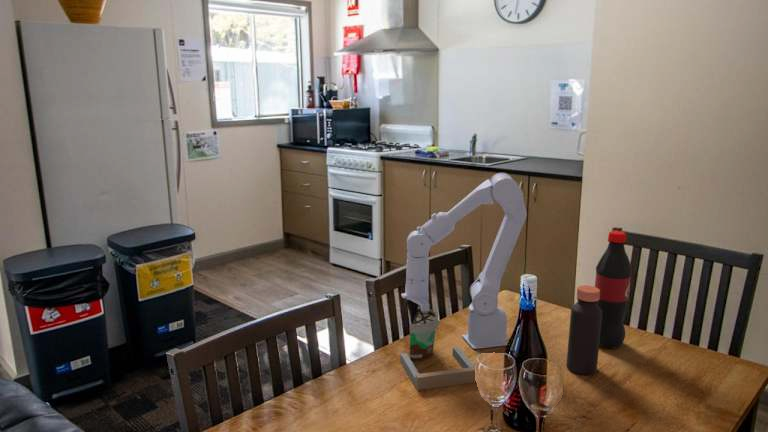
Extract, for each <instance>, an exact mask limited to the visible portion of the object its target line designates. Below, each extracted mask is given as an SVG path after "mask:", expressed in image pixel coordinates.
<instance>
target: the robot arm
mask: <svg viewBox="0 0 768 432" xmlns="http://www.w3.org/2000/svg"><path fill="white" fill-rule="evenodd" d="M494 201H496V203H497V204H499V205H500V206H501V208H502V210H503V212H504V216H503V219H502V222H501V223H500V227H499V229H498V232H497V234H496V236H495V240H494V242H493V244H492V247H491V250H490V252H489V255H488V257H487V259H486V262H485V265H484V267H483V269H482V271H481V272H479V275H478V277H477V279H476V280H475V281H474V282H473V283H471V285H470V288H469V293H470V296H471V300H472V301H471V303H470V304H469V306H468V320H467V321H468V322H467V324H468V325H467V333H465V334H462V335H461V337H462V338H463V340H464V341H466V342H467V344H468V345H469V346H470V347H471V348H472V349H473V350H480V349H487V348H495V347H497V348H498V347H503V346H508V343H507V330H508V329H507V327H508V318H507V314H506V311H505V310H504V308H503V307H501V306H500V307H499V306H498V305H499V299H498V297H499V293H500V290H501V281H502V279H503V275H504V273H505V271H506V268H507V266H508V263H509V261H510V258H511V256H512V254H513V250H514V248H515V246H516V244H517V241H518V238H519V236H520V233H521V232H522V229H523V226H524V224H525V221H526V219H527V217H528V215H527V214H528V213H527V208H526V205H525V200H524V192H523V191H522V189H521V188H520V186H519V184H518V182H516V181H515V180H514V179H513V177H512V176H511V175H510V174H508V173H506V172H498V173H495V174H494V175H492V176H491V177H490V179H489V178H488V179H485V181H483V182H482V183H480V184H479V185H478V186H476V187H475V188H474V189H473V190H472V191H471V192H469V193H468V195H466V196H465V197H464V198H463V199H461V201H459V202H458V203H457V204H456V205H455V206H453V207H452V208H451V209H450V210H448V211H447V212H446V211H445V212H444V211H439V212H438V213H435V212H434V213H432V215H431V218H430V219H429V220H428V221H426V222H425V223H424V224H422V225H421V226H420V225H419V226H417V227H416V230H414V231H411V232H410V233H409V235H408V236H407V239H406V250H407V252H406V258H407V259H406V265H405V266H406V268H405V269H406V270H405V271H406V272H405V273H406V274H405V275H406V276H405V288H404V289H405V290H404V291H405V292H403V293H402V292H401V294H400V295H401V297H402V299H405V300H404V302H405V304H406V307H407V310H408V313H409V319H410V324H412V323H413V320H414V317H415V315H416V313H417V309H418V306H420V307H421V311H422V312H423V311H429V309H430V303H429V299H430V298H429V297H430V294H429V270H430V267H429V266H430V260H429V253H430V250H431V247H432V246H435V245H437V244H438V243H439V242H441V241H442V240H443V239H444V238H447V236H448V235H450V234H451V233H452V232H454V231H455V225H456V223H457V222H459V221H460V220H462V219H463V218H464V217H466V216H467V215H468V214H470V213H471V212H472V211H474V210H476V209H477V208H478V207H480V206H481V205H482V206H483V205H494V204H495V203H494Z"/></svg>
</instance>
